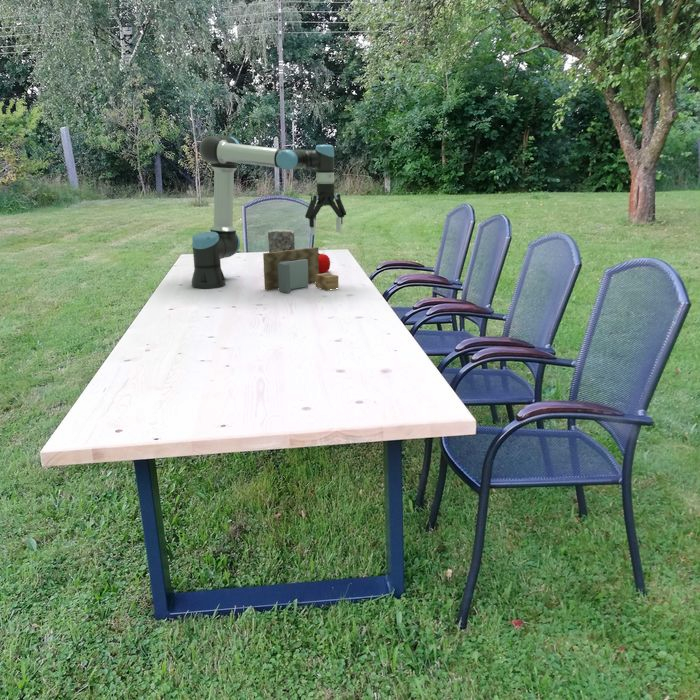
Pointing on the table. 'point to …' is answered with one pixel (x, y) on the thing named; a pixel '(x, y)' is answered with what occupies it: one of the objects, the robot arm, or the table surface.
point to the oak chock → (326, 281)
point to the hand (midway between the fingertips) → (326, 233)
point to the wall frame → (298, 254)
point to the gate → (292, 275)
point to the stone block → (281, 241)
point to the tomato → (323, 263)
